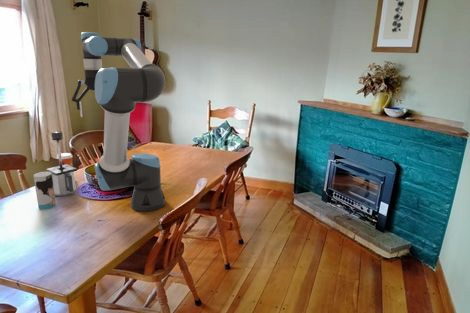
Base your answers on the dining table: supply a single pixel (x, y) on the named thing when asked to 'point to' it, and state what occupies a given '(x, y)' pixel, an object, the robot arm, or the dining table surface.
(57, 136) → the plunger
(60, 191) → the lidded canister
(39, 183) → the cup
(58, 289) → the dining table surface
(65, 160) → the paper cup
